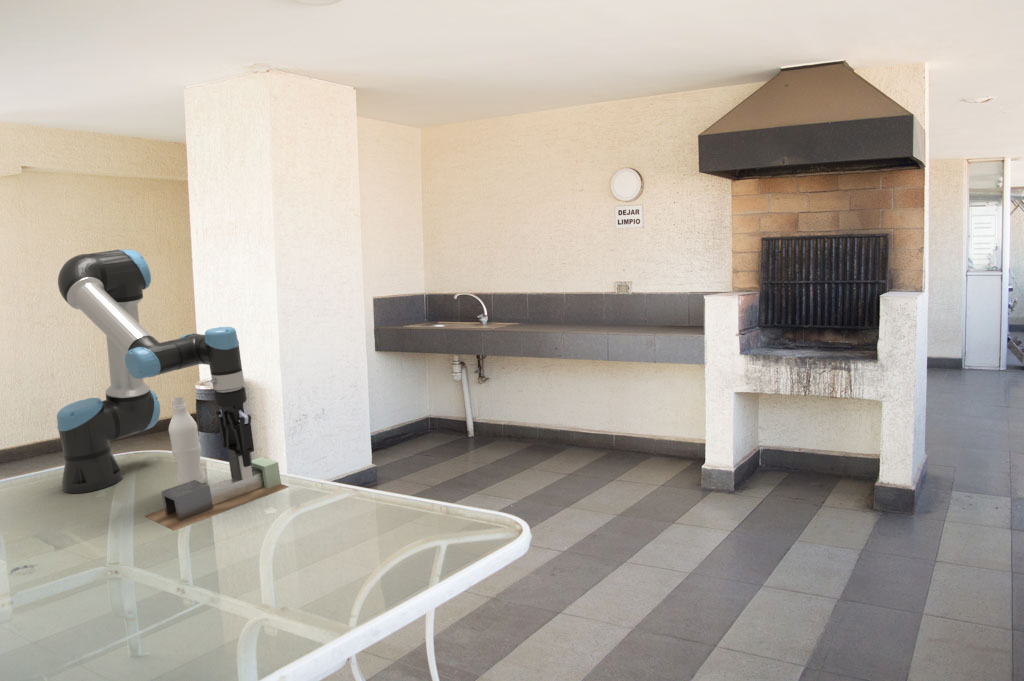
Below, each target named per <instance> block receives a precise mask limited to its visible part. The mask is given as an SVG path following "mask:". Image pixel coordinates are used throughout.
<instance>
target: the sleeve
mask: <svg viewBox="0 0 1024 681" xmlns="http://www.w3.org/2000/svg"><path fill="white" fill-rule="evenodd" d="M210 486H211V485H209V484H206V483H201V482H199V481H196V480H193V481H190V482H187V483H184V484H181V485H178V484H177V485H176V486H173V487H170V488H166V489H164V490H162V491H161V497H162V501H163V502H162V503H163V507H164V508H163V509H165V514H166V515H170V514H173V513H176V514H177V519H178V520H179V521H182V520H184V519H187V518H190V517H192V516H195V515H198V514H200V513H203V512H206V511H209V510H211V509H213V504H212V498H211V492H210Z"/></svg>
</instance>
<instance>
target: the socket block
mask: <svg viewBox="0 0 1024 681" xmlns="http://www.w3.org/2000/svg"><path fill="white" fill-rule="evenodd" d="M251 461H252V468H253V471H254V470H256V469H262V473H263V479H264V486H265V488H267V489H268V488H271V487H274V486H277V485H279V484H282V482H281V481H282V480H281V475H280V474H281V473H280V468H279V462H278V461H277V460H272V459H270V458H266V457H264V456H261V457H258V458H254V459H251Z"/></svg>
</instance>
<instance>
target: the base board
mask: <svg viewBox="0 0 1024 681" xmlns="http://www.w3.org/2000/svg"><path fill="white" fill-rule="evenodd" d="M287 488H290V486H288V485H285V484H283V483H281V484H279V485H277V486H274V487H271V488H268V489H267V488H265V486H264V487H262V488H259V489H256V490H254V491H251V492H248V493H245V494H243V495H240V496H237V497H235V498H232V499H229V500H226V501H224V502H221V503H218V504H216V505H213V509H211V510H209V511H206V512H203V513H200V514H198V515H195V516H192V517H190V518H187V519H184V520H182V521H179V520H178V519H177V514H176V513H173V514H170V515H166V514H165V509H164V508H161V509H159V510H156V511H153V512H150V513H147V514H145V515H143V517H145V518H146V519H148V520H149V519H150V520H151V521H154V522H155V523H157V524H159V525H161V526H163V527H166V528H168V529H170V530H172V531H177V530H179V529H182V528H185V527H187V526H190V525H193V524H196V523H198V522H201V521H204V520H205V519H209V518H212V517H215V516H217V515H219V514H222V513H225V512H227V511H230V510H232V509H233V510H234V509H235V508H237V507H240V506H243V505H246V504H248V503H251V502H253V501H257V500H258V499H261V498H264V497H267V496H269V495H272V494H275V493H277V492H280V491H282V490H285V489H287Z"/></svg>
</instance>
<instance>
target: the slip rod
mask: <svg viewBox="0 0 1024 681" xmlns="http://www.w3.org/2000/svg"><path fill="white" fill-rule="evenodd" d="M226 452H227V457H228V463H229V464H228V465H229V471H230V476H231V478H229V479H226V480H223V481H219V482H216V483H214V484H211V485H209V486H210V492H211V498H212V504H213V505H216V504H218V503H221V502H224V501H226V500H229V499H232V498H235V497H237V496H240V495H243V494H245V493H248V492H251V491H254V490H256V489H259V488H262V487H264V479H263V473H262V469H256V470H254V471H253V468H252V474H253V477H250V478H247V479H245V480H242V477H241V471H240V464H239V458H238V455H237V454H239V453H240V452H239V448H238V444H237V445H236V446H233V447H230V448H226ZM251 456H252V455H251V454H250V461H251V460H252V457H251ZM251 467H252V461H251Z"/></svg>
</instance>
